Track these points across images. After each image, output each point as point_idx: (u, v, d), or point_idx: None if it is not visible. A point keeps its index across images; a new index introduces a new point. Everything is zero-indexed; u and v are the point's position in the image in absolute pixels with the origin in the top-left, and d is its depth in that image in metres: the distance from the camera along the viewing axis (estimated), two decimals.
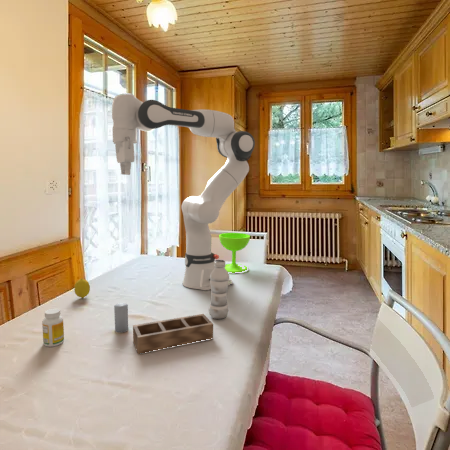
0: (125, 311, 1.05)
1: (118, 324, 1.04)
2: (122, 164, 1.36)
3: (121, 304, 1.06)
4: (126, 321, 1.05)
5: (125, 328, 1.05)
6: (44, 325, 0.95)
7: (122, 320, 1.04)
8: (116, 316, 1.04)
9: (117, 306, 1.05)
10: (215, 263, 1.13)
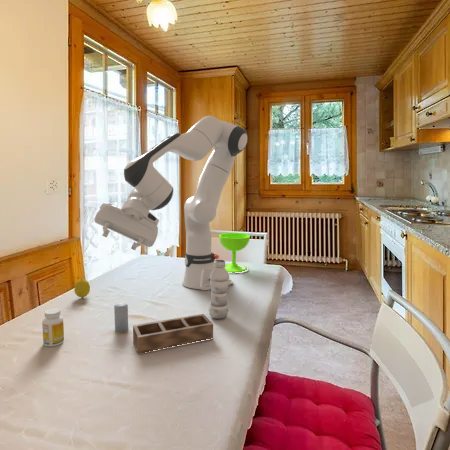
0: (125, 311, 1.05)
1: (118, 324, 1.04)
2: (138, 241, 1.10)
3: (121, 304, 1.06)
4: (126, 321, 1.05)
5: (125, 328, 1.05)
6: (44, 325, 0.95)
7: (122, 320, 1.04)
8: (116, 316, 1.04)
9: (117, 306, 1.05)
10: (215, 263, 1.13)
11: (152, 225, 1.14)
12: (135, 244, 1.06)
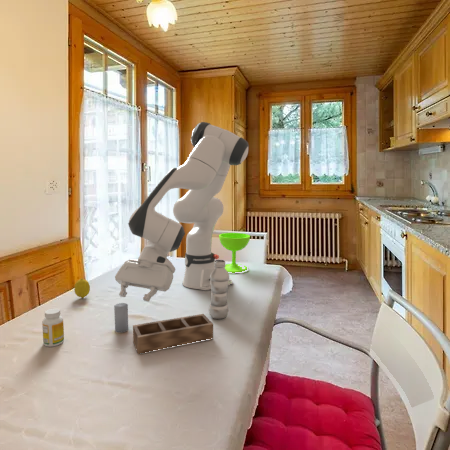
0: (125, 311, 1.05)
1: (118, 324, 1.04)
2: None
3: (121, 304, 1.06)
4: (126, 321, 1.05)
5: (125, 328, 1.05)
6: (44, 325, 0.95)
7: (122, 320, 1.04)
8: (116, 316, 1.04)
9: (117, 306, 1.05)
10: (215, 263, 1.13)
11: (162, 268, 1.10)
12: (145, 296, 1.07)
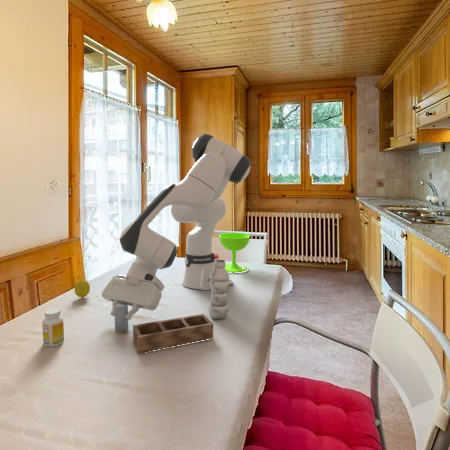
0: (125, 311, 1.05)
1: (118, 324, 1.04)
2: None
3: (121, 304, 1.06)
4: (126, 321, 1.05)
5: (125, 328, 1.05)
6: (44, 325, 0.95)
7: (122, 320, 1.04)
8: (116, 316, 1.04)
9: (117, 306, 1.05)
10: (215, 263, 1.13)
11: (150, 286, 1.07)
12: (126, 314, 1.04)
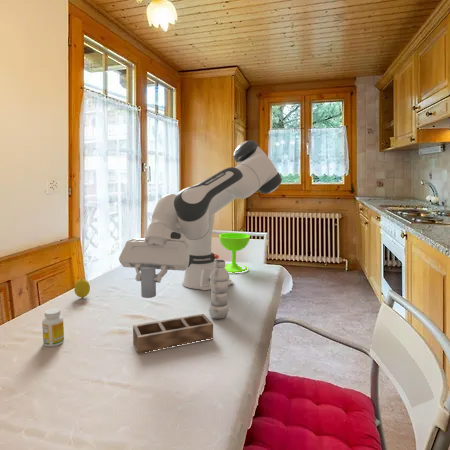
0: (154, 273, 0.94)
1: (147, 288, 0.93)
2: None
3: (147, 267, 0.95)
4: (155, 284, 0.94)
5: (154, 292, 0.94)
6: (44, 325, 0.95)
7: (151, 283, 0.93)
8: (144, 279, 0.93)
9: (145, 268, 0.93)
10: (215, 263, 1.13)
11: (178, 245, 0.97)
12: (156, 277, 0.93)
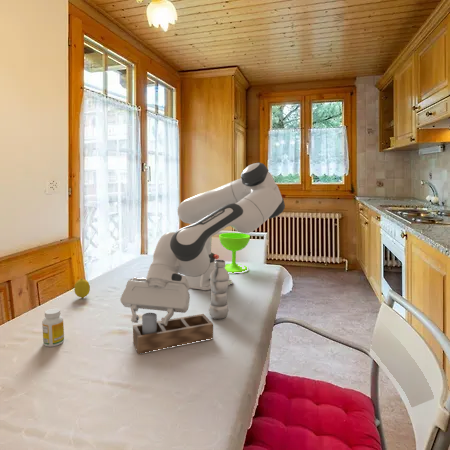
0: (155, 321, 0.96)
1: None
2: None
3: (149, 314, 0.97)
4: None
5: None
6: (44, 325, 0.95)
7: (152, 331, 0.95)
8: (146, 328, 0.95)
9: (146, 317, 0.95)
10: (215, 263, 1.13)
11: (179, 287, 0.99)
12: (163, 320, 0.95)
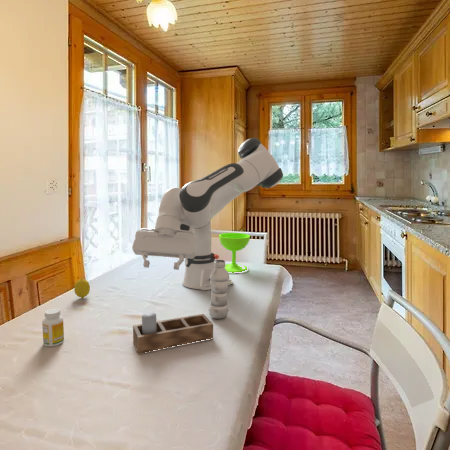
0: (155, 321, 0.96)
1: None
2: None
3: (148, 314, 0.97)
4: (156, 331, 0.97)
5: None
6: (44, 325, 0.95)
7: (152, 331, 0.95)
8: (145, 328, 0.95)
9: (146, 316, 0.95)
10: (215, 263, 1.13)
11: (188, 236, 1.09)
12: (176, 264, 1.05)
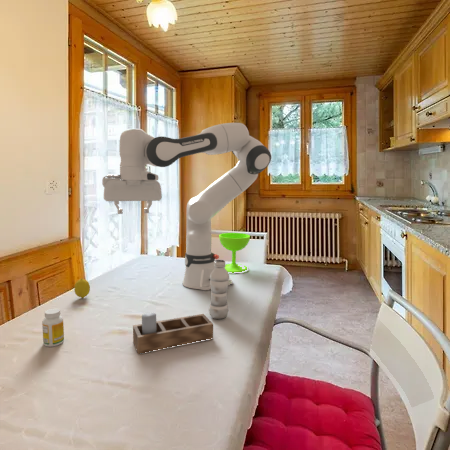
0: (155, 321, 0.96)
1: None
2: (147, 202, 1.26)
3: (148, 314, 0.97)
4: (156, 331, 0.97)
5: None
6: (44, 325, 0.95)
7: (152, 331, 0.95)
8: (145, 327, 0.95)
9: (145, 316, 0.95)
10: (215, 263, 1.13)
11: (154, 184, 1.23)
12: (147, 210, 1.25)
